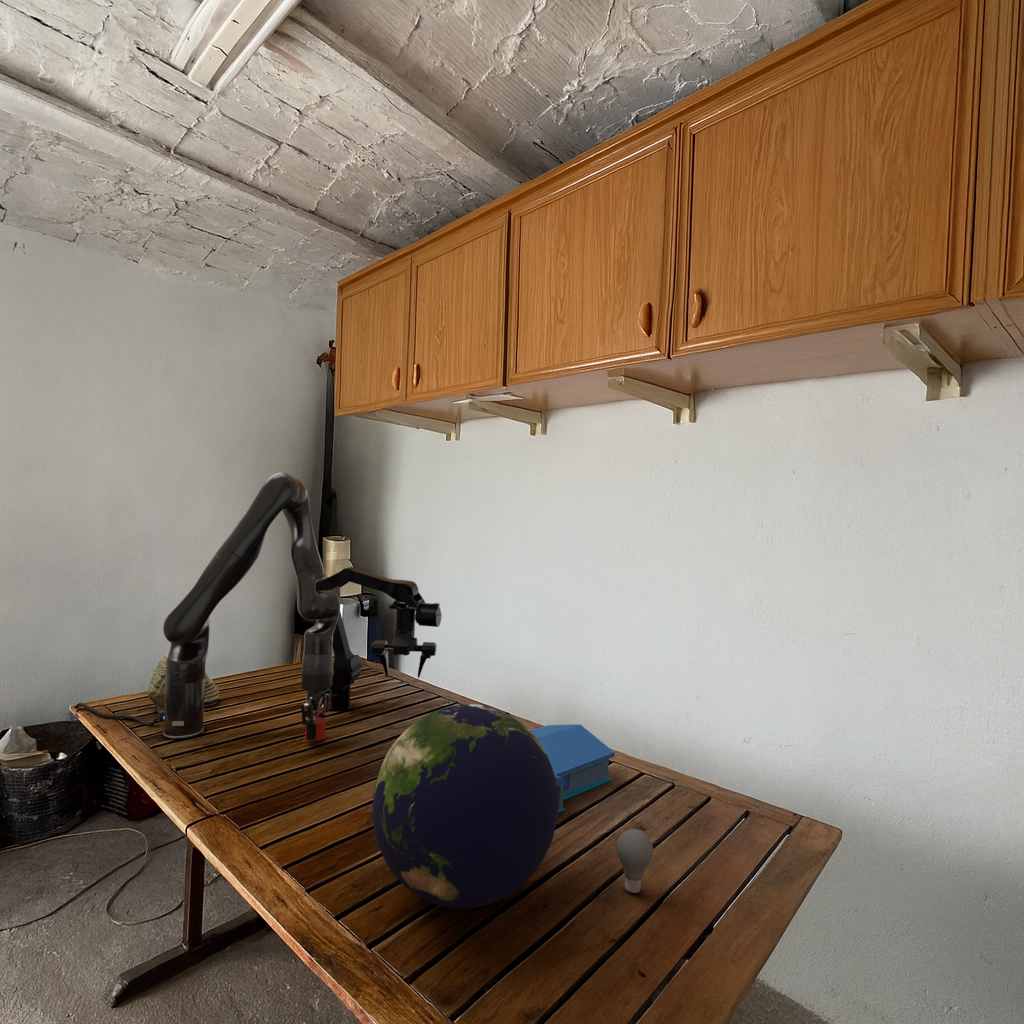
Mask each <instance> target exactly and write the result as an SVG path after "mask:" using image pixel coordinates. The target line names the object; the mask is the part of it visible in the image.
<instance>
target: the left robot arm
mask: <svg viewBox="0 0 1024 1024" xmlns="http://www.w3.org/2000/svg"><path fill="white" fill-rule="evenodd" d="M308 493H309V492H308V489H307V487H306V485H305V484H304V483H303V481H301V480H300V479H298V478H296V477H294V476H293V475H291V474H288V473H286V472H276V473H274V474H271V476H269V477H268V478H267V479H266V480H265V482H264V483H263V484H262V486H261V487H260V489H259V490H258V493H257V494H256V495H255V498H254V500H252V503H251V504H250V506H249V508H248V509H247V511H246V512H245V513H244V515H243V516H242V518H241V519H240V521H238V523H237V524H236V526H235V527H234V528H233V530H232V531H231V533H230V534H229V535H228V537H227V538H226V539H225V540H224V541H223V543H222V544H221V545H220V547H219V548H218V549H217V551H216V552H215V553H214V555H213V556H212V558H211V559H210V561H209V562H208V564H207V565H206V567H205V569H203V571H202V573H201V574H200V576H199V578H198V579H197V581H196V583H195V584H194V585H193V587H192V588H191V589H190V591H189V592H188V593H187V594H186V595H185V597H183V599H182V600H181V601H180V602H179V603H178V605H176V607H174V608H173V610H171V611H170V613H169V614H167V616H166V618H165V620H164V622H163V626H162V631H163V636H164V638H165V639H166V640H167V641H168V642H169V643H170V649H169V651H168V654H167V655H168V656H167V659H166V674H165V705H164V710H160V711H159V710H157V715H156V716H155V717H154V718H153V719H152V721H145V720H143V719H142V718H140V717H138V716H135V715H128V714H111V713H105V712H102V711H100V710H98V709H96V708H94V707H91V706H89V705H88V704H86V703H84V702H78V703H76V704H75V705H74V706H73V708H74V709H78V708H79V707H82V708H84V709H86V710H87V711H89V712H92V713H94V714H95V715H97V716H99V717H101V718H108V719H124V720H125V719H126V720H133V721H136V722H137V723H139V724H142V725H144V726H147V727H149V726H152V725H155V724H156V723H157V722H159V723H161V722H163V731H162V737H164V738H166V739H169V740H185V739H190V738H191V739H192V738H194V737H197V736H199V735H202V734H203V732H204V730H205V729H204V722H205V721H204V718H205V706H204V693H205V672H206V664H207V663H206V662H207V656H208V653H209V644H210V629H211V627H210V622H211V621H210V616H211V615H212V614H213V611H214V610H215V609H216V607H217V606H218V605H219V603H220V602H221V601H222V600H223V599H224V598H225V597H226V596H227V595H228V594H229V593H230V592H231V591H232V590H233V589H234V588H235V587H236V586H237V585H238V584H239V583H240V582H241V581H242V580H243V579H244V577H245V576H246V575H247V574H248V572H250V570H251V568H252V567H253V566H254V565H255V563H256V562H257V560H258V558H259V557H260V554H261V553H262V549H263V547H264V543H265V539H266V535H267V532H268V530H269V528H270V526H271V525H272V523H273V522H274V521H275V520H276V518H277V517H278V516H279V514H280V513H281V512H282V513H283V515H284V517H285V519H286V522H287V526H288V529H289V553H290V559H291V560H290V561H291V564H292V568H293V571H294V574H295V578H296V605H297V611H298V613H299V615H300V616H301V618H303V619H304V620H305V621H309V622H312V621H316V623H315V624H314V625H313V626H312V627H310V628H308V629H306V630H305V632H304V635H303V653H302V654H303V655H302V660H301V662H302V663H301V689H302V690H303V691H306V692H307V694H306V697H305V702H302V703H301V704H300V709H301V710H300V711H301V725H303V726H306V725H307V731H306V738H305V740H307V741H311V740H314V739H315V738H316V722H317V717H323V718H325V717H326V716H327V713H328V712H329V711H330V710H329V705H330V695H331V689H329V688H331V687H332V675H333V664H334V657H333V647H332V642H333V633H334V630H335V627H336V623H337V620H338V616H339V613H340V612H341V601H340V600H341V599H340V600H339V597H338V595H337V594H336V593H335V592H334V591H331V590H326V591H318V592H316V589H315V587H316V583H319V582H321V581H322V580H323V579H324V578H326V577H325V576H326V574H325V569H324V566H323V562H322V558H321V555H320V552H319V549H318V545H317V541H316V538H315V533H314V529H313V524H312V517H311V510H310V499H309V494H308ZM313 717H314V718H313ZM309 718H310V720H309Z"/></svg>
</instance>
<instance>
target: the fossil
mask: <svg viewBox="0 0 1024 1024" xmlns="http://www.w3.org/2000/svg"><path fill="white" fill-rule="evenodd" d="M167 656H168V654H165V655H164V656H163V657H162V658H161V659H160V660H159V662H158V663H157V666H156V667H155V669H154V670H153V672H152V675H151V677H150V680H149V684H148V688H147V697H148V699H149V700H150V701H152V703H153V704H154V706H155V711H160V710H164V705H165V674H166V659H167ZM220 698H221V696H220V690H219V688H218V686H217V685H216V683H215V682H214V681H213V679H212V678H211V677H209V675H208V674H207V672H206V671H205V693H204V707H207V706H213V705H215V704H217V703H218V701H219V699H220Z"/></svg>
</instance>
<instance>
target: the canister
mask: <svg viewBox="0 0 1024 1024" xmlns="http://www.w3.org/2000/svg"><path fill="white" fill-rule="evenodd" d="M313 718H314V716H313ZM309 720H310V718H309ZM326 723H327V719H326V718H325V717H324V718H323V717H317V722H316V738H315V739H314V740H310V741H313V742H314V741H321V740H323V739H325V738H326V729H327V728H326V725H327V724H326ZM306 731H307V725H305V730H304V739H306Z"/></svg>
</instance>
